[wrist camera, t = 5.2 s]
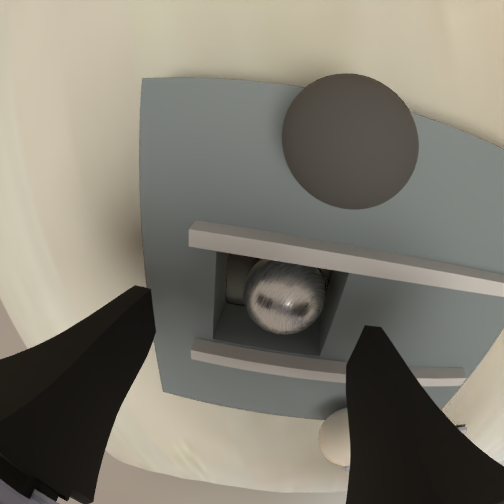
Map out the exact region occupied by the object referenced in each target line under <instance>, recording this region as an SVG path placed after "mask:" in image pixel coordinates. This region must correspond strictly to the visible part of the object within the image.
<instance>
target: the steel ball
mask: <svg viewBox="0 0 504 504" xmlns="http://www.w3.org/2000/svg"><path fill="white" fill-rule="evenodd" d="M243 299H244V304H245V308H246V310H247V312H248V314H249V316H250V317H251V319H252V320H253V321H254V322H255V323H256V324H257V325H258V326H260V327H261V328H262V329H264V330H266V331H268V332H271V333H274V334H280V335H288V334H294V333H298V332H300V331H302V330H304V329H306V328H308V327H309V326H310V325H311V324H313V323H314V322H315V321H316V319H317V318H318V317H319V315H320V313H321V312H322V309H323V307H324V304H325V299H326V288H325V283H324V280H323V277H322V275H321V273H320V271H319V270H318V268H317V267H310V266H304V265H298V264H292V263H286V262H280V261H274V260H268V259H261V260H260V261H259V262H257V263H256V264H255V265H254V266H253V267H252V269H251V270H250V272H249V273H248V275H247V277H246V280H245V283H244V289H243Z"/></svg>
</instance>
